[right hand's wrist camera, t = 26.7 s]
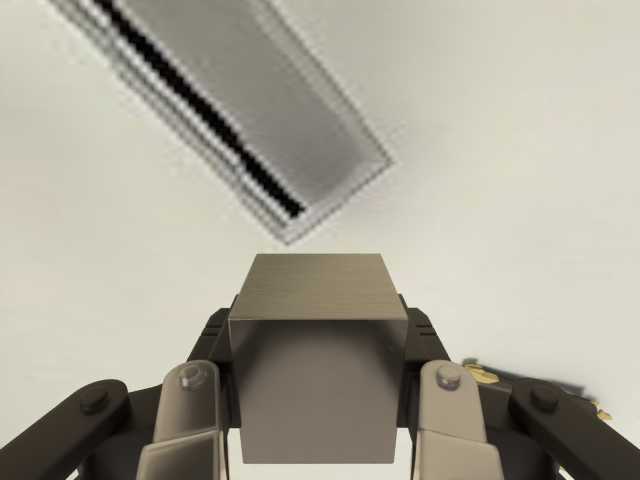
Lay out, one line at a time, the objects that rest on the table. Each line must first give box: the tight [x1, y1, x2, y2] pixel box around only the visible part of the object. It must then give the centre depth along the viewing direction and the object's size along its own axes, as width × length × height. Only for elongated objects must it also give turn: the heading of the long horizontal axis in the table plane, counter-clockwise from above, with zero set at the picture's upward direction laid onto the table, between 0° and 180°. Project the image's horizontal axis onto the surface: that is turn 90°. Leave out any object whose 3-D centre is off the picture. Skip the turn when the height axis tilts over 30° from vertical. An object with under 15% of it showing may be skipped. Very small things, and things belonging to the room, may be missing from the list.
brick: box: [228, 254, 408, 464], centre depth 11 cm, size 4×5×4 cm
